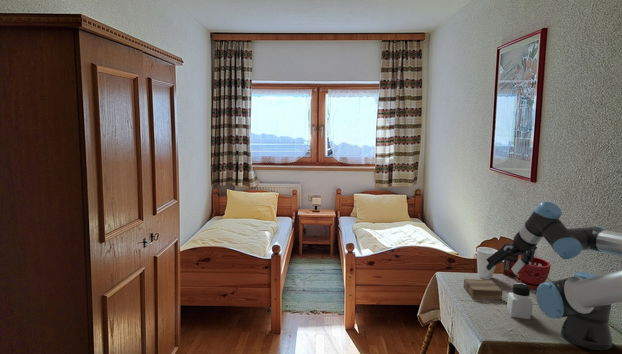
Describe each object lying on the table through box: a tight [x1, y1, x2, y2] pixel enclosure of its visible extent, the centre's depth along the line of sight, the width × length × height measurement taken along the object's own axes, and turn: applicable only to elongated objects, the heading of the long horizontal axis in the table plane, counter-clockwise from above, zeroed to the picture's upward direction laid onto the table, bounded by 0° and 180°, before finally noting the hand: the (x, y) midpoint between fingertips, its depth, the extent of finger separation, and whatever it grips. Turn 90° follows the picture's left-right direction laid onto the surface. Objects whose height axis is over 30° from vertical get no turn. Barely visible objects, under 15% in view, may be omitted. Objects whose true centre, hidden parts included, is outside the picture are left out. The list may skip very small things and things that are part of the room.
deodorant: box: [502, 242, 520, 278], centre depth 215 cm, size 6×6×15 cm
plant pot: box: [516, 256, 551, 290], centre depth 202 cm, size 13×13×12 cm
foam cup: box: [476, 246, 498, 280], centre depth 211 cm, size 10×9×13 cm
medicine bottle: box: [506, 282, 533, 320], centre depth 172 cm, size 7×7×12 cm
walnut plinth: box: [463, 278, 503, 301], centre depth 191 cm, size 12×12×4 cm
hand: (499, 272), depth 175 cm, fingers open, 13 cm apart
